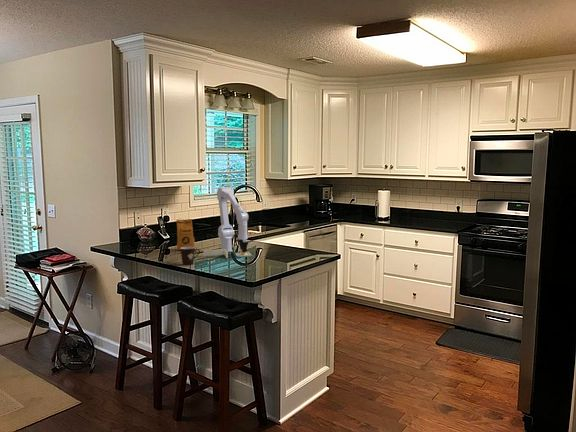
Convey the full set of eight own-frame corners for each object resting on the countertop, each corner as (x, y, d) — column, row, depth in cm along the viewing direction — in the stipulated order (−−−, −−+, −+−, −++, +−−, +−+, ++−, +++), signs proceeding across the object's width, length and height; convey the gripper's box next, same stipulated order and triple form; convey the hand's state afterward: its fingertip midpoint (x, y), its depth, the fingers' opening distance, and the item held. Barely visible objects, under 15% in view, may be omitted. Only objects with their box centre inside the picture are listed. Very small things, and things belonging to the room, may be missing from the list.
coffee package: (194, 250, 328) (193, 219, 326) (176, 251, 326) (175, 220, 324) (195, 248, 338) (194, 217, 336) (177, 249, 336) (176, 218, 333)
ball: (239, 254, 311) (239, 248, 311) (245, 254, 312) (245, 248, 312) (240, 255, 308) (240, 249, 307) (246, 255, 308) (246, 249, 308)
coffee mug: (180, 266, 279) (180, 249, 278) (180, 263, 287) (180, 247, 286) (200, 264, 281) (200, 248, 280) (200, 262, 290) (199, 246, 289)
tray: (235, 254, 313) (235, 253, 313) (249, 253, 316) (249, 252, 315) (237, 256, 304) (237, 255, 304) (251, 256, 307) (251, 254, 307)
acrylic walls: (203, 255, 310) (203, 250, 309) (225, 254, 313) (225, 249, 313) (205, 259, 297) (204, 254, 297) (227, 258, 301) (227, 252, 300)
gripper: (235, 229, 314) (235, 249, 316) (238, 232, 300) (238, 253, 302) (245, 229, 316) (246, 249, 317) (249, 232, 302) (249, 252, 303)
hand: (243, 251), depth 310 cm, fingers open, 7 cm apart
